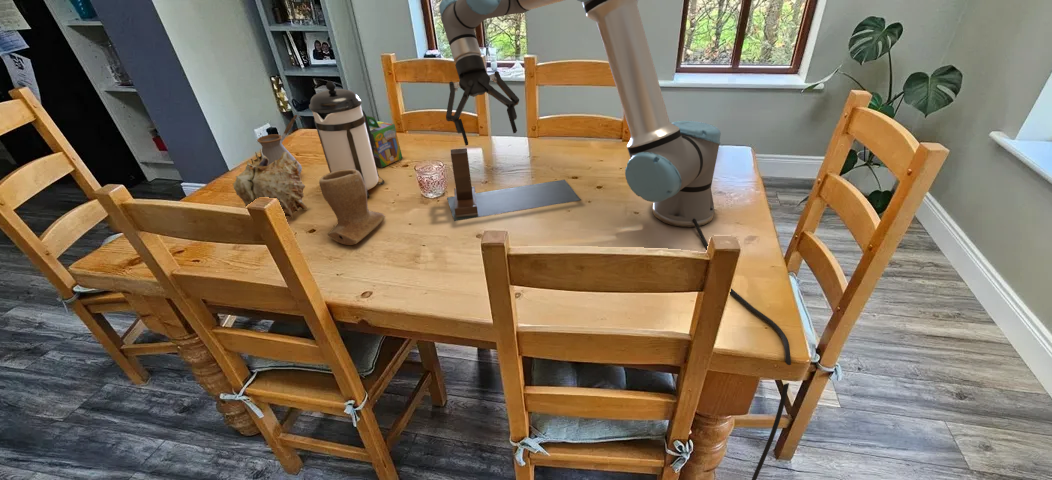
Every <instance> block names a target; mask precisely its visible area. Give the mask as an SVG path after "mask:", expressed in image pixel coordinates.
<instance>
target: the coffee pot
mask: <svg viewBox="0 0 1052 480" xmlns="http://www.w3.org/2000/svg"><path fill="white" fill-rule="evenodd" d="M298 118H300V119H298ZM301 120H302V117H301V116H300V115H298V114H294V116H293V117H292V118H290V122H289V123H287V125H286V128H285V129H284V131H283V133H282V135H281V134H277V133H276V134H275V133H274V134H272V133H271V134H267V135H263V136H260V137H258V138H257V139H256V141H257V143H259V144H260V146H261V150H262V153H263V156H266V157H267V158H268V160H269V164H271V163H272V162H274V161H275V160H278V159H280V157H281V156H282V153H284V152H288V153H289V157H290V159H291V160H292V161H294V160H297V159H296V158H295V157H294V155H293V154H292V153H291V152H290V151H289V150H288V149H287V148H286V147H285V146H284V144H283V142H284V140H285V138H286V137H287V136H288V134H289V132H290V131H291V129H292V128H293V126H294V123H296V121H301ZM297 163H299V164H300V165H299V167H298V170H299V174H300V175H301V173H302V170H303V167H302V164H301V163H300V162H299V161H298V160H297ZM269 164H268V165H269Z"/></svg>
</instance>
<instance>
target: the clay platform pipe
mask: <svg viewBox="0 0 1052 480" xmlns="http://www.w3.org/2000/svg"><path fill="white" fill-rule="evenodd" d="M318 184H319V188H320V191H321V195H322V197H323V198H324V200H325V201H326V203H327V204H328V205H329V207H330V209H331V210H332V211H333V213H334V215H335V217H336V219H337V220H336V221H337V223H336V225H335V226H334V227H333V228H332V229H331V230H330V231H329V232H328V233H327V237H329V238H330V239H333V241H336V242H337V243H338V244H341V245H345V246H346V245H347V246H352V245H356V244H358V243H359V242H360V241H362V240H363V239H364V238H366V237H367V236H368V235H369V234H370V233H371V232H372V231H373V230H375V229H376V228H377V227H378V226H379V225H380V224H381V223H382V222H383V221H384V219H385V217H386V215H385V213H383V212H379V211H373V210H369V207H368V198H367V191H368V190H366V185H365V182H364V180H363V177H362V175H361V173H360V172H359V171H357V170H355V169H345V170H339V171H335V172H331V173H330V172H328V173H326V174H325V175H323V176H321V177H320V178H319V181H318Z"/></svg>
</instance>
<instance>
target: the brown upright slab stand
mask: <svg viewBox="0 0 1052 480" xmlns="http://www.w3.org/2000/svg"><path fill="white" fill-rule="evenodd" d="M468 154H469V153H468V148H467V147H463V148H455V149H453V148H452V149H450V158H451V167H452V173H453V178H454V179H453V180H454V185H455V187H454V189H453V191H454V193H453V194H454V196H455V213H456V217H465V216H475V215H478V211H477V202H476V193H477V192H476V186H473V185H472V177H471V170H470V162H469V155H468Z"/></svg>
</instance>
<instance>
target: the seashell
mask: <svg viewBox="0 0 1052 480" xmlns="http://www.w3.org/2000/svg"><path fill="white" fill-rule="evenodd" d="M259 153H260V156H259V155H258V153H257V152H256V151H255V159H253V158H250V161H251V162H250V161H248V160H247V161H246V166H245V169H244V170H243V171H242V172H241V173H240V174H238V175H235V178H236V179H235V181H234V182H233V183H232V184H233V185H232V186H233V189H234V191H235V194H236V196H238V197H239V198H240V200H242V201H243V203H244V208H245V207H246V206H247V205H248V204H250V203H251V202H253V201H254V200H255V199H257V198H259V197H269V198H277V199H278V200H279V202H280V205H281V207H282V209H283V211H284V213H285V216H286V217H285V218H290V219H292V220H293V219H294V217H293V215H294V213H295V212H298V213H299V209H302V210H303V211H306V210H307V209H308V206H307V204H305V202H303V198H304V197H305V194H304V189H305V188H306V185H305V184H304V183H303V181H302V179H301V178H302V176H301V173H300V174H299V170H298V167H299V165H301V163H300V162H299V163H300V164H299V163H297V161H298V160H297V159H296V160H294V161H292V160H291V159H290V157H289V153H288V152H284V153H282V156H281V157H280V159H278V160H275V161H274V162H272V163H271V164H269V160H268V158H267V157H266V156H263V153H262V148H259ZM268 164H269V165H268Z"/></svg>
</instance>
